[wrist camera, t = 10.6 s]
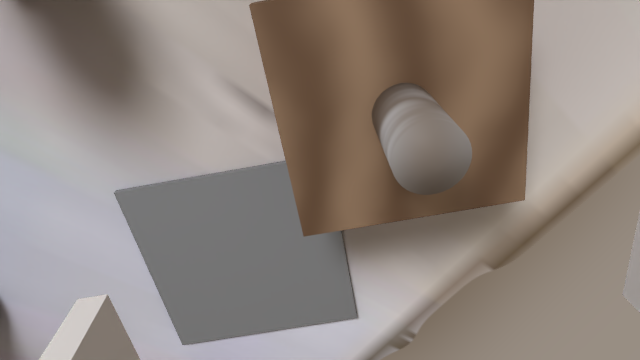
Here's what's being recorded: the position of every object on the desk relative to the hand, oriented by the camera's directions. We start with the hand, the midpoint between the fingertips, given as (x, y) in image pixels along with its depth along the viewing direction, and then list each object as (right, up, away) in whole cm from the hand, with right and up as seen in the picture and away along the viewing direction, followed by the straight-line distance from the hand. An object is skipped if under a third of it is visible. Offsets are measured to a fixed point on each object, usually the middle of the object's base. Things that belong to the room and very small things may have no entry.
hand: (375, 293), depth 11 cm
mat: (-9, -5, +32) cm, 33 cm away
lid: (+4, +8, +18) cm, 20 cm away
